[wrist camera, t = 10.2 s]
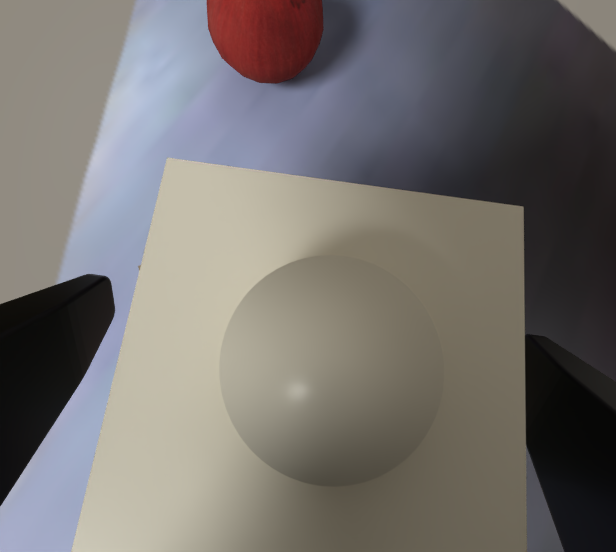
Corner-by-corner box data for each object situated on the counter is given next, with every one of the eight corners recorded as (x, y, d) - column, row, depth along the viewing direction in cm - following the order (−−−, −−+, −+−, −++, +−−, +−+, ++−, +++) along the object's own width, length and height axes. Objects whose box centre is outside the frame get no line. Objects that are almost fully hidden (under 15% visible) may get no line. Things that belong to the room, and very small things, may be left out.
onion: (291, 20, 25) (291, -143, 17) (335, 91, 23) (357, -48, 16) (205, 54, 24) (163, -102, 16) (246, 129, 23) (223, 1, 15)
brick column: (348, 438, 15) (589, 697, 3) (236, 423, 15) (7, 623, 3) (359, 326, 16) (568, 174, 4) (254, 312, 16) (144, 115, 4)
